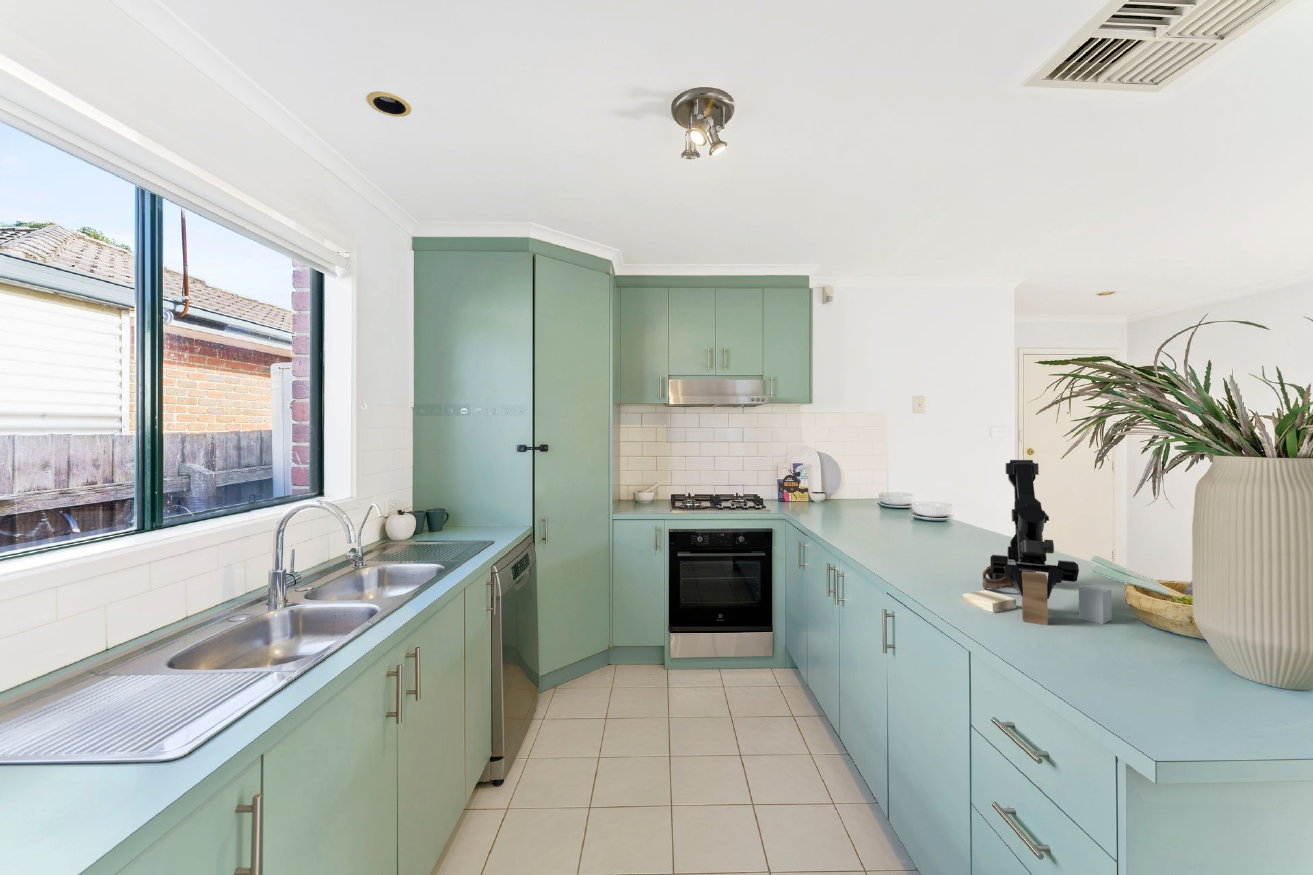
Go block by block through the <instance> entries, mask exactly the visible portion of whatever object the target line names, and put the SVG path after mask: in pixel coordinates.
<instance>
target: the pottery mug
mask: <svg viewBox="0 0 1313 875" xmlns="http://www.w3.org/2000/svg"><path fill="white" fill-rule="evenodd" d="M987 576H988V577H987ZM982 587H983V589H984V590H987V591H988V589H999V588H1004V587H1010V588H1014V589H1015V590H1016V591H1017V592H1019V591H1018V590H1017V588H1016V586H1015V585H1014V583H1013V582H1012V581H1011V580H1010V578H1007V577H1005V575H1000V574H992V573H991V568H990V565H989V566H987V567H986V569H984V570H983V571H982Z"/></svg>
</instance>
